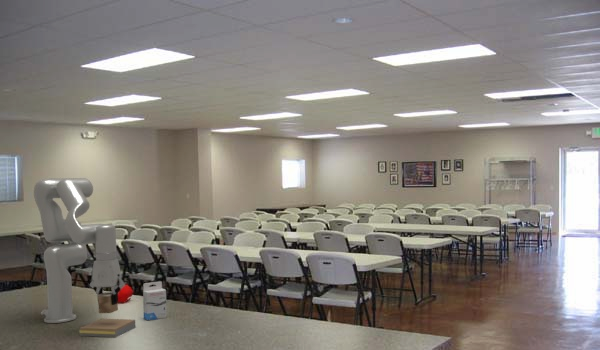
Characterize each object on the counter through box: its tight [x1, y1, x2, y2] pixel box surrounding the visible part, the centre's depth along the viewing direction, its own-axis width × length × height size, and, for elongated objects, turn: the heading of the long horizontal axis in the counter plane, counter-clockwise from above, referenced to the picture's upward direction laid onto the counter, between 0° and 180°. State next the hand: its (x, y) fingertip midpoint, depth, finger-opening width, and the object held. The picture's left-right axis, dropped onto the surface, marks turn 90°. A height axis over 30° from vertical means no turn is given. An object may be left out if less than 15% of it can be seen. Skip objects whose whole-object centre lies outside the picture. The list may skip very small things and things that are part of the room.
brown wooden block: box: [97, 291, 119, 314], centre depth 216 cm, size 5×5×7 cm
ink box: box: [142, 281, 167, 321], centre depth 236 cm, size 8×5×15 cm, turn 123°
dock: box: [78, 318, 136, 338], centre depth 216 cm, size 15×14×3 cm
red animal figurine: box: [118, 284, 134, 304], centre depth 270 cm, size 8×8×8 cm
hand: (108, 303), depth 216 cm, fingers closed on brown wooden block, 5 cm apart
